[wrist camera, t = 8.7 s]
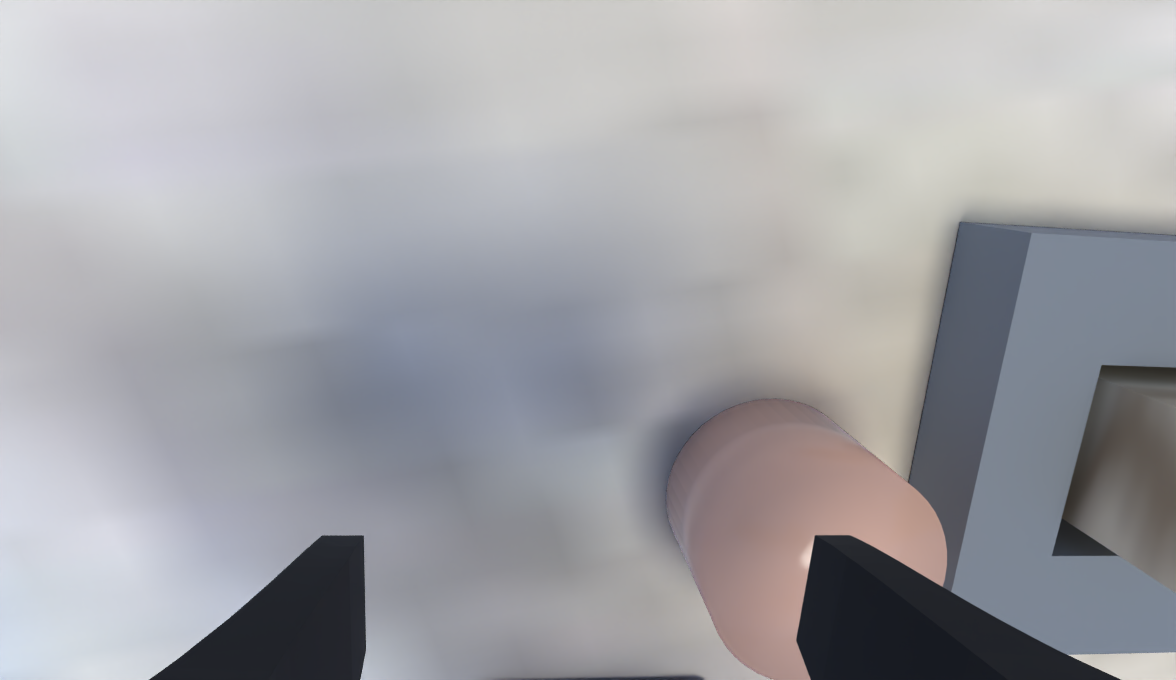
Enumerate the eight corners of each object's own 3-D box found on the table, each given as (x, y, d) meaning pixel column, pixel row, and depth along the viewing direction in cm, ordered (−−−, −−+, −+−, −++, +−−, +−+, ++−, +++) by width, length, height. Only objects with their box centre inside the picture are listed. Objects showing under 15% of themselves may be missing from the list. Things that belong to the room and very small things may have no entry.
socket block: (1190, 594, 26) (1275, 649, 23) (885, 598, 25) (936, 657, 22) (1303, 243, 23) (1418, 256, 20) (960, 222, 21) (1031, 232, 18)
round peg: (839, 576, 24) (922, 681, 19) (657, 578, 23) (696, 688, 19) (870, 400, 23) (969, 467, 18) (675, 395, 22) (724, 464, 17)
